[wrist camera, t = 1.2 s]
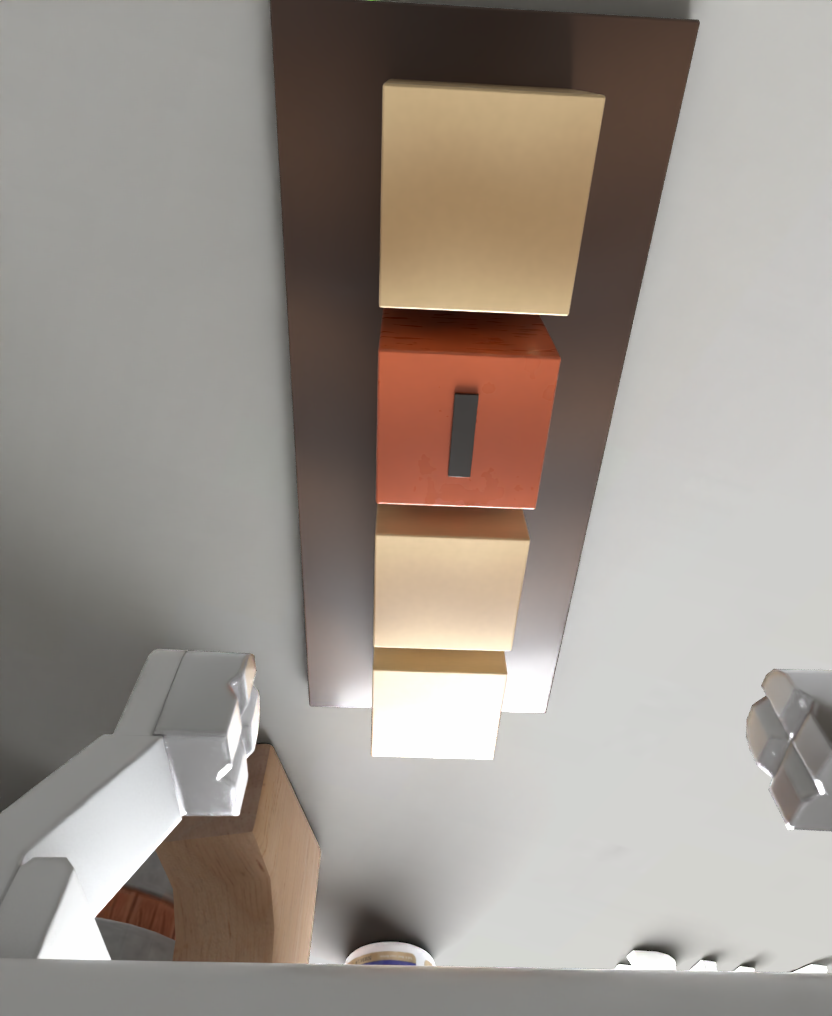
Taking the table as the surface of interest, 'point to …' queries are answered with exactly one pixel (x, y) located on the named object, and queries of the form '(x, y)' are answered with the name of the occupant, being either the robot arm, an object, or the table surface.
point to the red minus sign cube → (463, 407)
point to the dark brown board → (457, 287)
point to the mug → (140, 916)
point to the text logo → (666, 962)
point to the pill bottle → (390, 955)
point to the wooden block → (245, 875)
